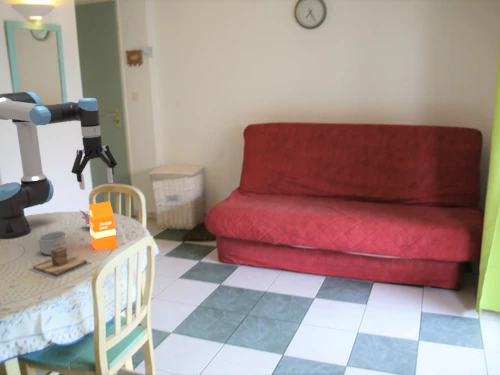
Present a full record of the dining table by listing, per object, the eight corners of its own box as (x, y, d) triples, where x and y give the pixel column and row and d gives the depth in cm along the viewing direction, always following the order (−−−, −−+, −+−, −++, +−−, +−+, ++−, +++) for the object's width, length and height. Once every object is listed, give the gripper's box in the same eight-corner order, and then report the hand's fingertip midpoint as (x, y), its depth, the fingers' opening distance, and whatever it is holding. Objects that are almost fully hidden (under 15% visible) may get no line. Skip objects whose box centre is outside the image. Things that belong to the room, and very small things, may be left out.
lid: (33, 269, 195) (31, 251, 193) (63, 256, 206) (61, 240, 205) (56, 276, 188) (54, 258, 186) (86, 263, 199) (84, 246, 197)
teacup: (58, 258, 206) (56, 240, 204) (34, 257, 208) (32, 239, 206) (76, 246, 219) (74, 229, 217) (54, 245, 221) (51, 228, 219)
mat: (28, 271, 195) (27, 269, 195) (64, 256, 209) (64, 254, 208) (56, 280, 186) (55, 279, 186) (92, 264, 200) (92, 263, 200)
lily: (100, 235, 236) (105, 215, 238) (75, 229, 231) (80, 208, 233) (96, 235, 246) (101, 216, 248) (71, 229, 242) (77, 210, 244)
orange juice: (117, 247, 217) (112, 203, 212) (96, 252, 212) (91, 206, 207) (111, 242, 223) (107, 199, 218) (91, 246, 219) (86, 202, 214)
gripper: (68, 141, 196) (74, 193, 202) (122, 132, 214) (126, 181, 220) (58, 139, 201) (65, 190, 206) (112, 131, 219) (116, 178, 225)
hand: (96, 185), depth 213 cm, fingers open, 13 cm apart
